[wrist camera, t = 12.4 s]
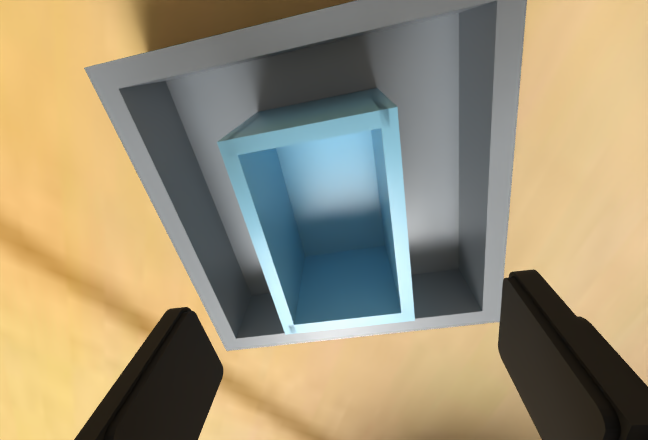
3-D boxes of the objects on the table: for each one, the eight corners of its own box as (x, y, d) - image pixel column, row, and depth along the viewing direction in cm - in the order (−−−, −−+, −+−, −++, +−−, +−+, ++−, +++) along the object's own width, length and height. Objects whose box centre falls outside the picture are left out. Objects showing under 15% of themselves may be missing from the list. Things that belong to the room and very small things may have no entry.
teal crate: (376, 87, 16) (397, 106, 11) (394, 246, 21) (415, 320, 15) (257, 111, 17) (216, 142, 11) (299, 259, 22) (285, 334, 16)
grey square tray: (473, -15, 15) (530, -43, 10) (468, 269, 23) (499, 321, 18) (149, 63, 17) (84, 67, 13) (246, 297, 25) (226, 350, 20)
